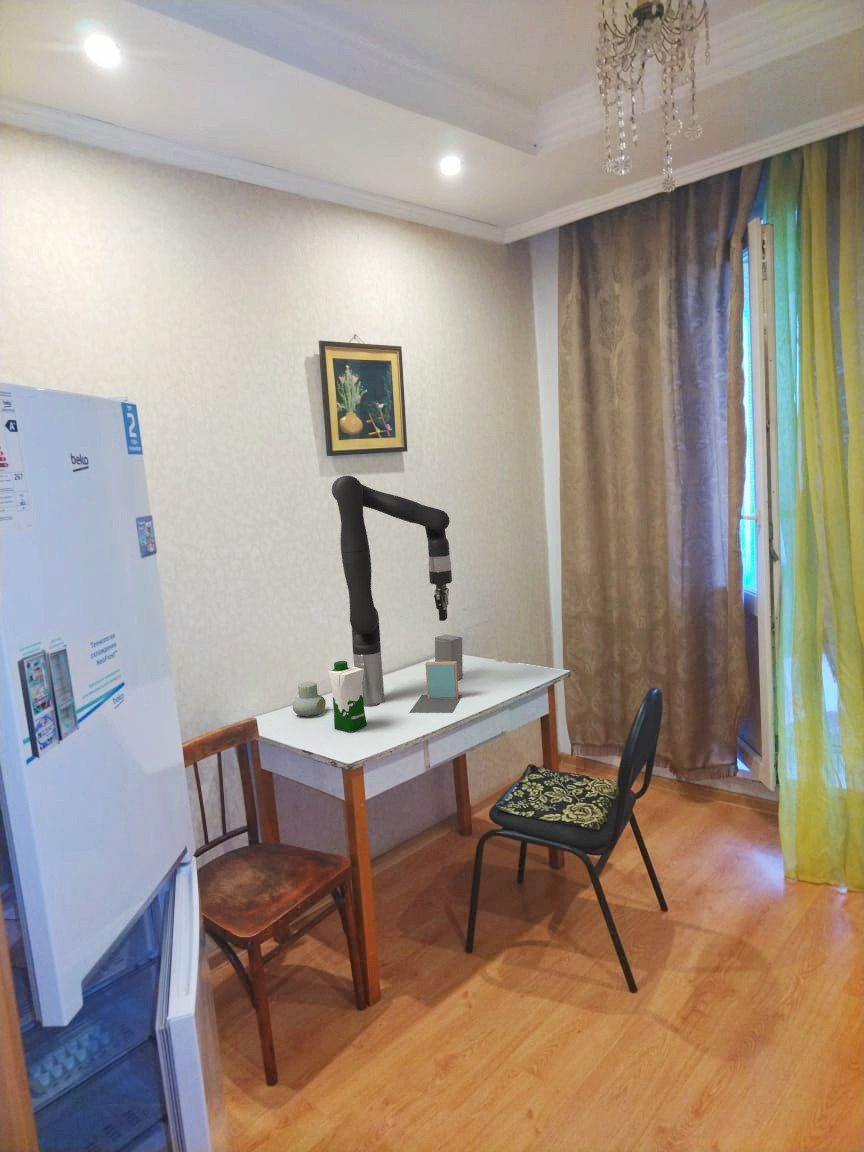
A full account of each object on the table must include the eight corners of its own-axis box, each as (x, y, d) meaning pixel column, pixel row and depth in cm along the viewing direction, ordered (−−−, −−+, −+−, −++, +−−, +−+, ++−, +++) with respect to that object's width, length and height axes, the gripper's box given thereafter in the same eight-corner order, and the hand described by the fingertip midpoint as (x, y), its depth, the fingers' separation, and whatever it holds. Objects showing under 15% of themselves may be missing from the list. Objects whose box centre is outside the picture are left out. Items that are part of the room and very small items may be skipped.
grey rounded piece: (314, 719, 239) (311, 689, 238) (290, 719, 241) (288, 688, 240) (328, 708, 249) (326, 679, 248) (305, 708, 252) (303, 679, 250)
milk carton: (351, 721, 235) (345, 658, 232) (371, 726, 229) (366, 661, 227) (329, 729, 229) (324, 665, 226) (350, 734, 223) (345, 668, 220)
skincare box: (434, 680, 275) (432, 637, 273) (447, 675, 280) (444, 633, 278) (452, 683, 269) (450, 639, 267) (465, 678, 275) (462, 635, 273)
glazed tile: (427, 699, 251) (425, 663, 250) (429, 696, 254) (426, 661, 252) (457, 698, 249) (455, 663, 248) (458, 696, 252) (456, 661, 250)
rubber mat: (409, 713, 238) (409, 712, 238) (422, 695, 257) (422, 694, 257) (452, 714, 235) (452, 712, 235) (462, 695, 254) (462, 694, 254)
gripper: (433, 566, 262) (436, 616, 264) (424, 572, 248) (428, 624, 251) (454, 565, 260) (457, 615, 262) (447, 571, 247) (450, 623, 249)
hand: (443, 619), depth 256 cm, fingers closed
